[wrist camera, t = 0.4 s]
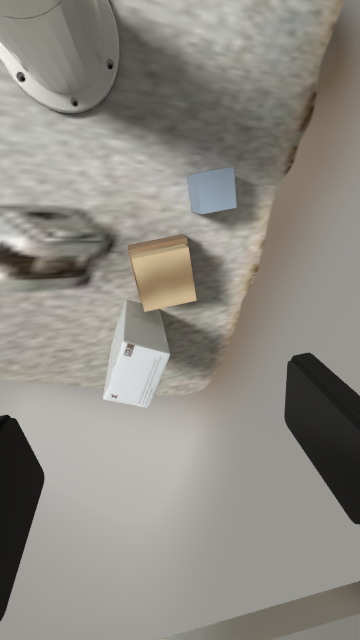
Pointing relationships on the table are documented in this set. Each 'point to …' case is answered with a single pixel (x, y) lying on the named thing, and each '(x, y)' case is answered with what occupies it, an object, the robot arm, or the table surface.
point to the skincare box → (136, 356)
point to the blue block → (212, 190)
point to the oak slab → (164, 276)
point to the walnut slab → (152, 245)
